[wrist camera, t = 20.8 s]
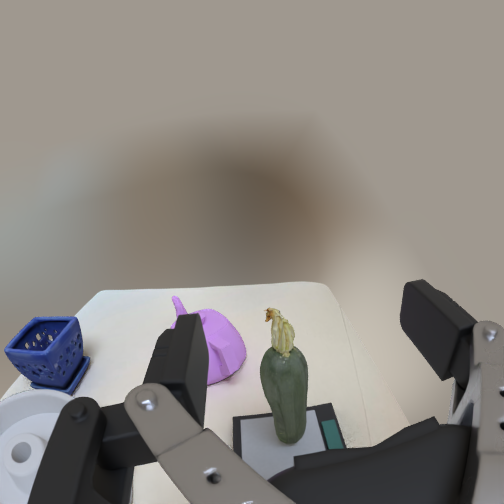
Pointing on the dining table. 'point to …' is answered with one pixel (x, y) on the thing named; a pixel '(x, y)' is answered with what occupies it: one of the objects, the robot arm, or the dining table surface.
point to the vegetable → (285, 380)
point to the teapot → (218, 342)
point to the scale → (276, 452)
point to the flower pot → (50, 353)
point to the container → (26, 439)
